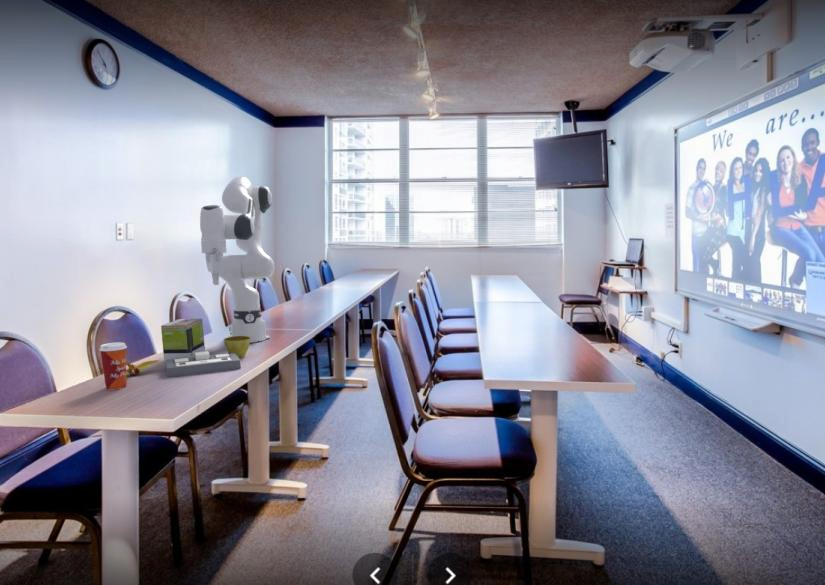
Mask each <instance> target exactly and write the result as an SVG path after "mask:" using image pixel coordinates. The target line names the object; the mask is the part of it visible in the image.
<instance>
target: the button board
mask: <svg viewBox="0 0 825 585" xmlns="http://www.w3.org/2000/svg"><path fill="white" fill-rule="evenodd" d="M219 354H220V353H216V354H209V356H210V359H208V360H199V361H195V357H187V358H188V359H189V362H181V363H175V362H174V359H169V360H166V363H165V364H166V373H167V375H168V376H172V377H178V376H177V375H180V376H187V375H186V374H188V375H194V373H197V374H203V373H202V372H205V373H211V372H210V371H213V372H221V371H220V370H222V371H228V370H227V369H230V370H235V369H234V368H238V369H241V368H242V364H241V358H240V357H238V356H237V355H236V353H235V352H234V353H228V352H225V353H224V354H229V356H230V357H226V358H217V359H216V358H215V355H219ZM178 359H182V358H178ZM168 376H167V377H168Z"/></svg>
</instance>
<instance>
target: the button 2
mask: <svg viewBox="0 0 825 585" xmlns="http://www.w3.org/2000/svg"><path fill="white" fill-rule="evenodd" d="M218 354H219V355H215V354H214V355H215V358H216V359H217V358H226V357H230V356H229V354H225V353H218Z"/></svg>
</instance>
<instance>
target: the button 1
mask: <svg viewBox="0 0 825 585" xmlns="http://www.w3.org/2000/svg"><path fill="white" fill-rule="evenodd" d="M174 362H175V363H181V362H189V359H188V358H182V359H174Z"/></svg>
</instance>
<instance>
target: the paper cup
mask: <svg viewBox="0 0 825 585" xmlns="http://www.w3.org/2000/svg"><path fill="white" fill-rule="evenodd" d="M127 348H128V346H127V345H126V343H125V342H121V341H118V342H108V343H103V344H101V345H100V348H99V350H98V351H100V357H101V362H102V370H103V376H104V383H105V387H106V390H107V389H117V390H120V389H119V388H122V389H124V388H126V387H127V374H126V370H127V365H126V360H127ZM125 386H126V387H125ZM123 387H124V388H123Z"/></svg>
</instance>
